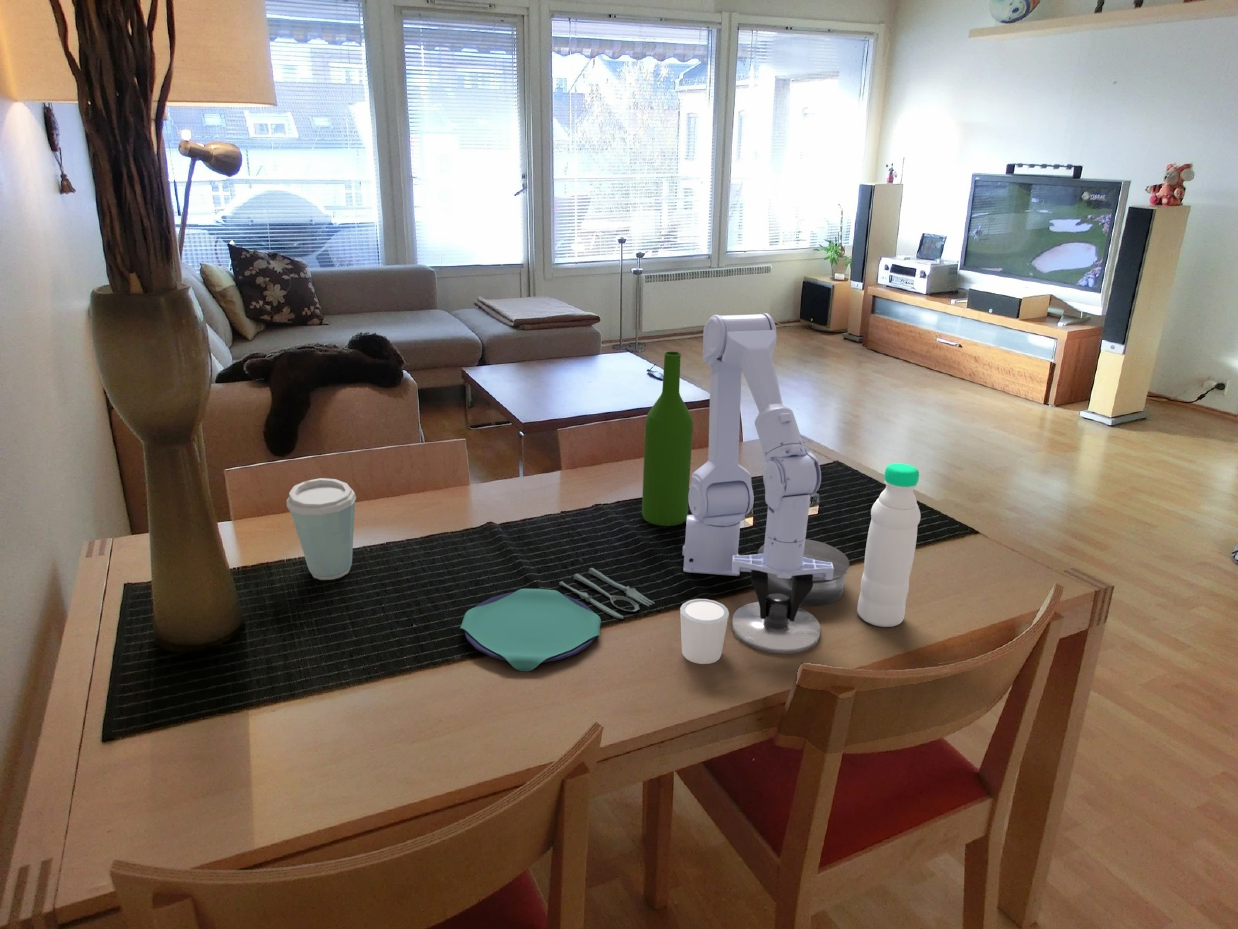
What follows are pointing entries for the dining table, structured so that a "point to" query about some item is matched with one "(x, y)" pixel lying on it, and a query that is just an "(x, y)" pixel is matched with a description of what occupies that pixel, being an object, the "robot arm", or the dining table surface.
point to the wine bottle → (667, 452)
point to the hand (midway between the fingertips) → (776, 616)
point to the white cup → (703, 630)
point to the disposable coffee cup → (324, 525)
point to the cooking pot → (821, 588)
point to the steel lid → (776, 627)
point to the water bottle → (890, 548)
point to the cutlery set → (540, 623)
